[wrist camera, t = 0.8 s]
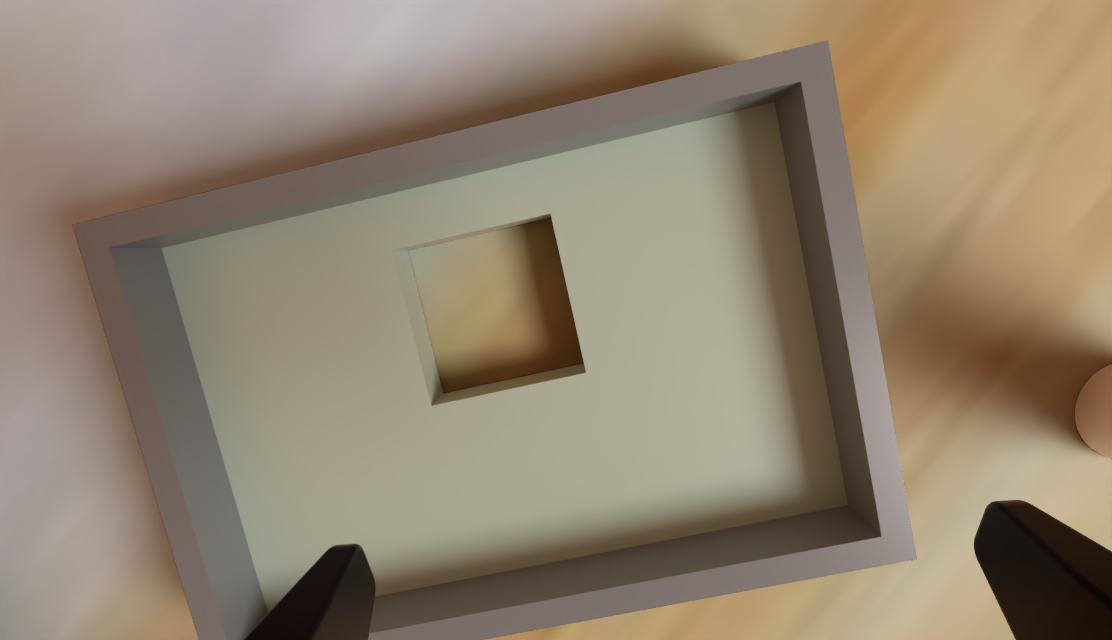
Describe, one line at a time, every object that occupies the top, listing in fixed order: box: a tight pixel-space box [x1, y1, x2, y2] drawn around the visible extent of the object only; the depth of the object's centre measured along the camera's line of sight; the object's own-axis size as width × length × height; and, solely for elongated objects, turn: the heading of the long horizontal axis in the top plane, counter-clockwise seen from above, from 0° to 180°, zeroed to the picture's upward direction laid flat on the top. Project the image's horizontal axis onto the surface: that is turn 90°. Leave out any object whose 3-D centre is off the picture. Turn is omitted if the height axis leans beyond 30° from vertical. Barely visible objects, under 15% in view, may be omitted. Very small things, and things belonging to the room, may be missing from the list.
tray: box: [72, 40, 917, 640], centre depth 22 cm, size 17×25×4 cm
